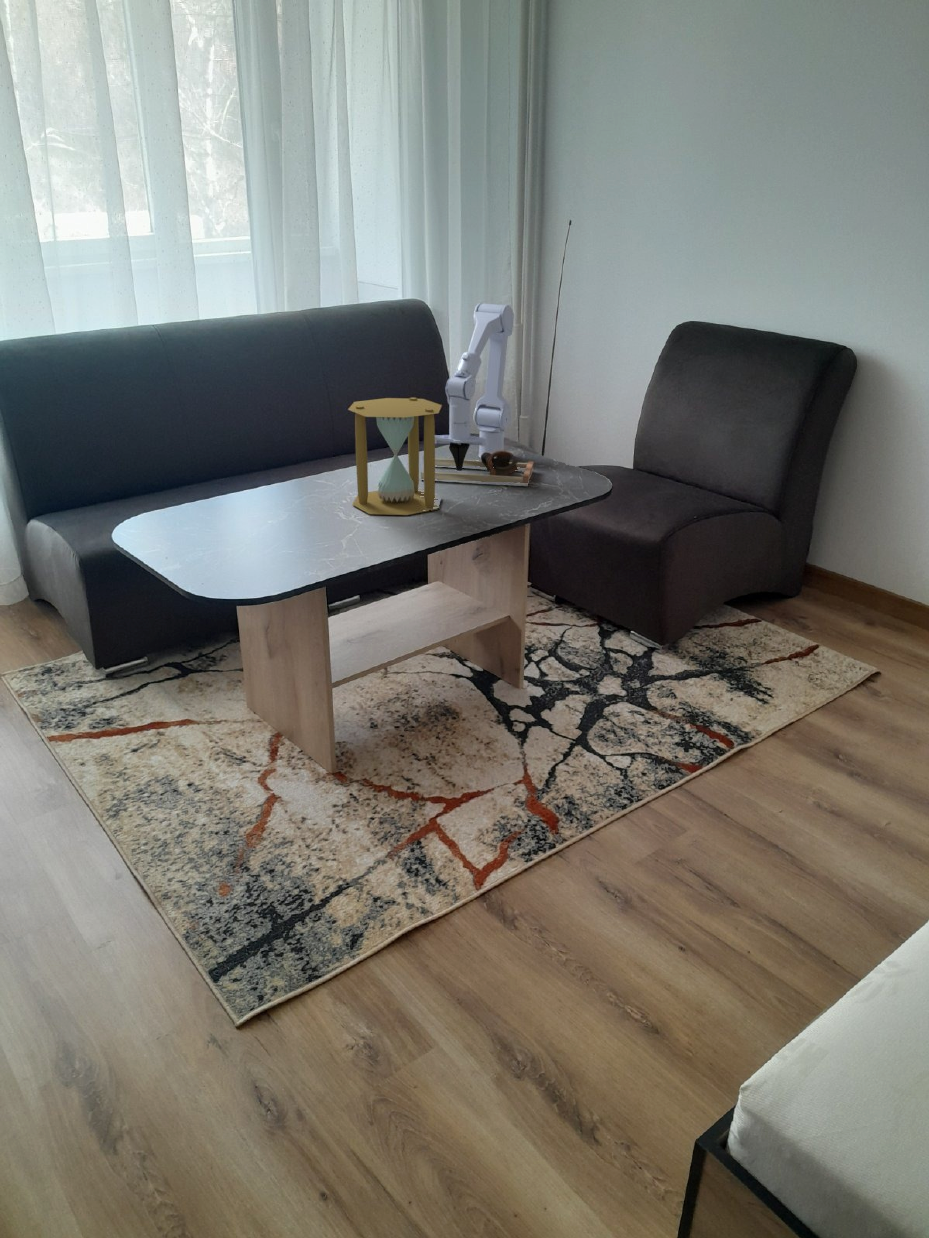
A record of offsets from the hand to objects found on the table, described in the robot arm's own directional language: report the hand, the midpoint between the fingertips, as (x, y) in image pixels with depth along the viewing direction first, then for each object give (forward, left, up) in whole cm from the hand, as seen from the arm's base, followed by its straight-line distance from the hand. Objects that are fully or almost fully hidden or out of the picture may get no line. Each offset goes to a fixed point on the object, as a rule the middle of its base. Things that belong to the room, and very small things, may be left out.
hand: (459, 469), depth 262 cm
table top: (0, +5, -2) cm, 5 cm away
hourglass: (+27, -11, -2) cm, 30 cm away
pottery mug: (-2, +11, -2) cm, 11 cm away
